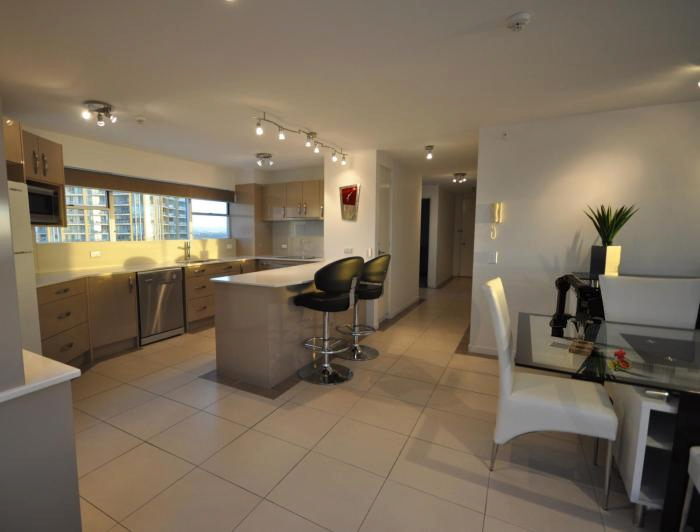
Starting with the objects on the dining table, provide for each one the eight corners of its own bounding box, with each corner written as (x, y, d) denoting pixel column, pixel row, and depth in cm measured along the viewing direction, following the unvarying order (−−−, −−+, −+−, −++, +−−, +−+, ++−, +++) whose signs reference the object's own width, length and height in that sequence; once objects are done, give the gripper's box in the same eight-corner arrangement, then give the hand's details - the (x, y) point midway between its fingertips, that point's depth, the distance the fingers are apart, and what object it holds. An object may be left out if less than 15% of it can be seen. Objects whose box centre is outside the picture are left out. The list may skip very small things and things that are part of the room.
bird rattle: (627, 374, 170) (607, 362, 176) (640, 357, 165) (619, 345, 171) (624, 377, 166) (604, 365, 172) (637, 360, 161) (616, 348, 167)
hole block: (568, 352, 194) (568, 347, 194) (574, 343, 209) (574, 339, 208) (589, 356, 187) (589, 351, 187) (593, 347, 202) (594, 342, 202)
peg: (577, 338, 193) (578, 321, 192) (578, 337, 196) (579, 320, 195) (583, 339, 191) (584, 322, 190) (584, 338, 194) (585, 321, 193)
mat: (549, 346, 205) (549, 346, 205) (553, 342, 212) (553, 341, 212) (566, 349, 199) (567, 349, 199) (569, 345, 206) (570, 344, 206)
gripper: (561, 306, 192) (559, 333, 193) (601, 311, 179) (599, 340, 181) (564, 303, 200) (563, 329, 202) (603, 308, 188) (601, 335, 189)
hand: (581, 333), depth 193 cm, fingers closed on peg, 3 cm apart
